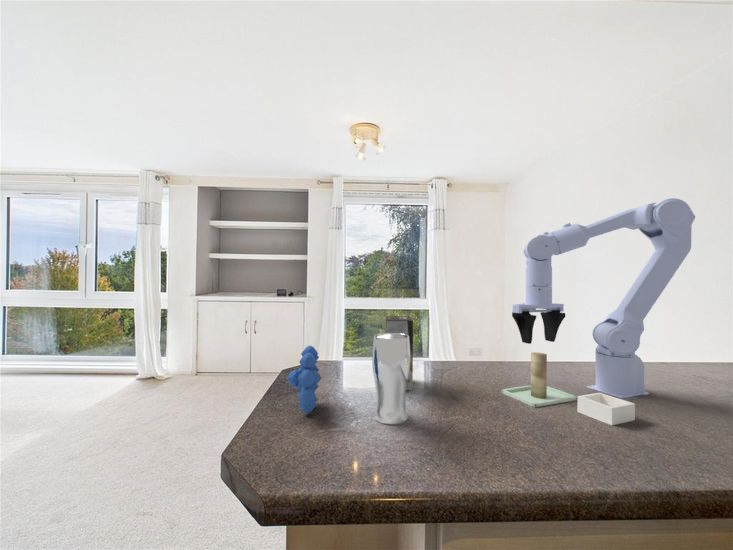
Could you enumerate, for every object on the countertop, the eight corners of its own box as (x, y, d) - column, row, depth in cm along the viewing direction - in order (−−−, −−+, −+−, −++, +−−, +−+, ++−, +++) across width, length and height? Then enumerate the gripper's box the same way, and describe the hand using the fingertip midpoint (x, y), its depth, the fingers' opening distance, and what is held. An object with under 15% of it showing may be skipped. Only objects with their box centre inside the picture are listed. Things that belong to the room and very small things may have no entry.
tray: (541, 388, 77) (541, 383, 77) (577, 402, 69) (577, 396, 69) (500, 395, 73) (500, 389, 73) (534, 410, 65) (534, 404, 65)
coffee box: (413, 390, 75) (414, 320, 76) (385, 390, 76) (385, 319, 76) (409, 378, 85) (409, 315, 85) (384, 378, 85) (385, 315, 85)
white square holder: (599, 410, 65) (599, 392, 65) (634, 423, 59) (634, 403, 59) (577, 414, 63) (577, 396, 63) (611, 428, 57) (611, 408, 57)
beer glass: (413, 413, 63) (413, 334, 63) (405, 428, 56) (405, 340, 56) (378, 408, 65) (378, 331, 65) (366, 422, 58) (367, 337, 59)
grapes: (290, 398, 70) (291, 341, 70) (322, 397, 70) (323, 341, 71) (280, 422, 58) (281, 354, 58) (319, 421, 59) (320, 353, 59)
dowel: (537, 392, 73) (537, 352, 73) (549, 397, 70) (550, 354, 70) (527, 394, 72) (527, 353, 72) (539, 399, 69) (540, 356, 69)
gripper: (546, 285, 87) (546, 337, 87) (503, 285, 82) (502, 340, 82) (571, 286, 80) (571, 342, 80) (526, 286, 75) (526, 346, 75)
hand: (538, 342), depth 80 cm, fingers open, 7 cm apart
